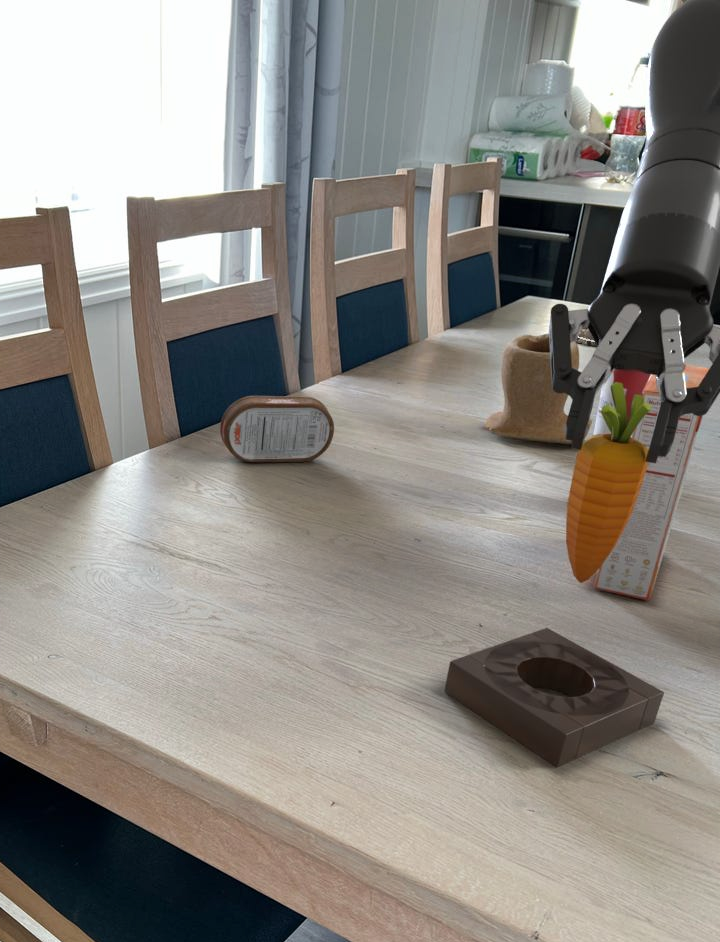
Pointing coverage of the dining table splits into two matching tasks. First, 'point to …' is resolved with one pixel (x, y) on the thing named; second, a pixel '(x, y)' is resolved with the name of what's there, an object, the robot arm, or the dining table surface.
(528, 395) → the stone cup
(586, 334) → the brown shell
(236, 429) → the tin
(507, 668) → the socket pad
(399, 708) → the dining table surface
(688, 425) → the cracker box
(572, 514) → the carrot
